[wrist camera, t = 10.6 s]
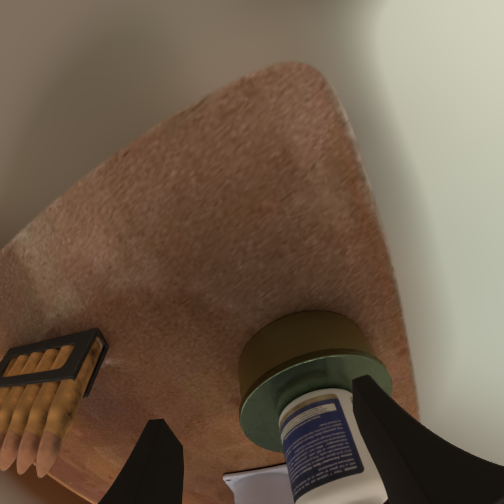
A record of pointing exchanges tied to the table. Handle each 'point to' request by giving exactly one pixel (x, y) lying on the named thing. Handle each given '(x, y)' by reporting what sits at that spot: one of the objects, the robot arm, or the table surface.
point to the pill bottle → (328, 451)
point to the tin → (300, 368)
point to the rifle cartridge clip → (44, 396)
